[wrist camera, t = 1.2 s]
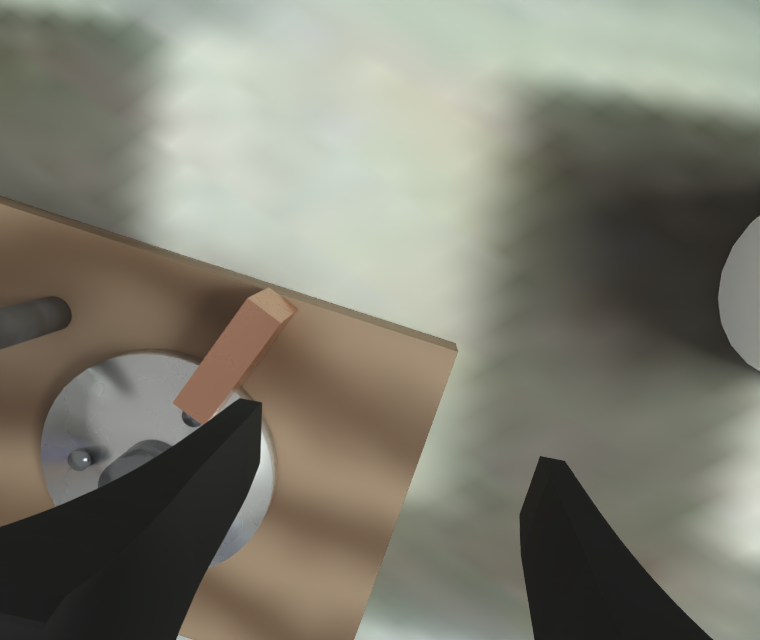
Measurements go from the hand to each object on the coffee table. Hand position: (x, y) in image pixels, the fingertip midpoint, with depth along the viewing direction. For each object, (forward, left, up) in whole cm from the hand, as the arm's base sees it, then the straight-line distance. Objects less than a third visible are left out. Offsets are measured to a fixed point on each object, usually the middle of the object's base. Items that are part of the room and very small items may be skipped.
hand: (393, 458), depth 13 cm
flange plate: (-6, +9, -10) cm, 15 cm away
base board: (-9, +9, -12) cm, 17 cm away
